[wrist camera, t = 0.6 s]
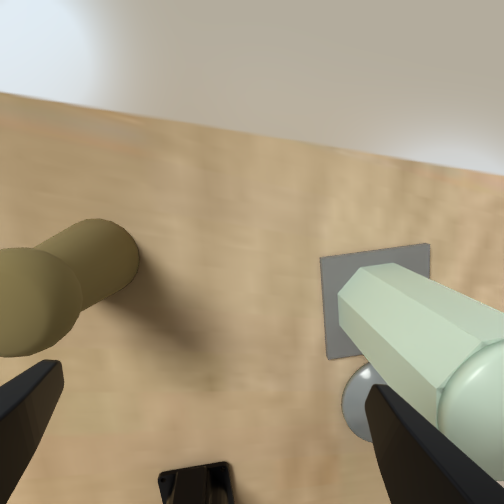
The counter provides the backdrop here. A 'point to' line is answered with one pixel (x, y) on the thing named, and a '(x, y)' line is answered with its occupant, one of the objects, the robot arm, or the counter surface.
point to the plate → (359, 399)
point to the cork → (60, 283)
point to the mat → (339, 273)
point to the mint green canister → (433, 354)
